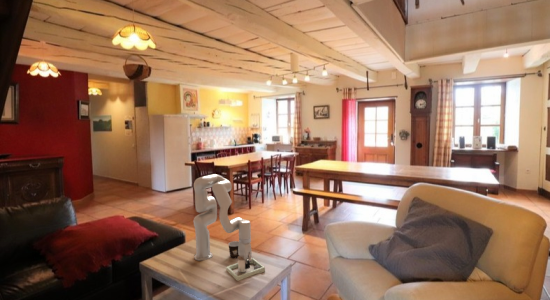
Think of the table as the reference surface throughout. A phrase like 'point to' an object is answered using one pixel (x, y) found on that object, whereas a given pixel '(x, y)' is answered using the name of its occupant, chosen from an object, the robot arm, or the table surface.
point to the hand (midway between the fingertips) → (245, 266)
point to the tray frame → (259, 270)
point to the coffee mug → (233, 249)
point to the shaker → (241, 264)
